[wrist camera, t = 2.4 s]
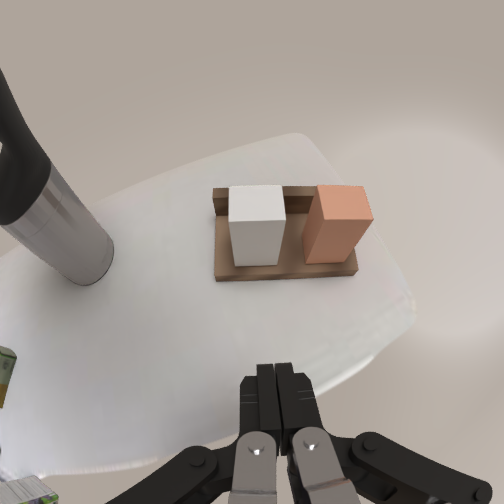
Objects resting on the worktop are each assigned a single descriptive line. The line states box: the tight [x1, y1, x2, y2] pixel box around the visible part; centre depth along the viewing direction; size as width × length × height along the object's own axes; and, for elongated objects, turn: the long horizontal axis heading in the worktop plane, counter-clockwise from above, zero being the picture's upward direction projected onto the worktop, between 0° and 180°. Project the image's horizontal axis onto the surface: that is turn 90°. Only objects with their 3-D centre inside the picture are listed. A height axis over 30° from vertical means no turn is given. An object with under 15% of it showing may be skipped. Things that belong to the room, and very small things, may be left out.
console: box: [213, 186, 359, 281], centre depth 34 cm, size 18×10×6 cm, turn 92°
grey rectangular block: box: [229, 185, 286, 266], centre depth 29 cm, size 5×4×10 cm
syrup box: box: [0, 476, 58, 504], centre depth 11 cm, size 6×6×14 cm
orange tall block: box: [302, 185, 373, 264], centre depth 29 cm, size 5×4×10 cm
